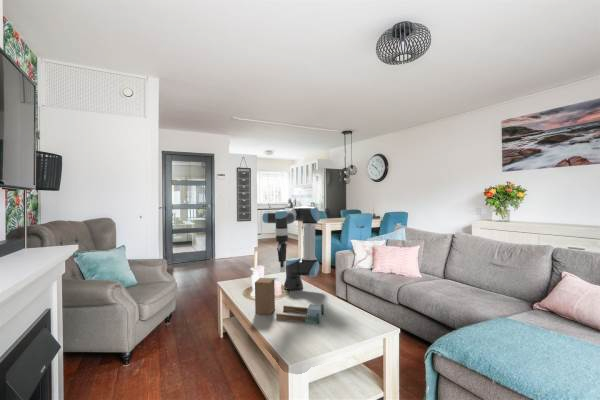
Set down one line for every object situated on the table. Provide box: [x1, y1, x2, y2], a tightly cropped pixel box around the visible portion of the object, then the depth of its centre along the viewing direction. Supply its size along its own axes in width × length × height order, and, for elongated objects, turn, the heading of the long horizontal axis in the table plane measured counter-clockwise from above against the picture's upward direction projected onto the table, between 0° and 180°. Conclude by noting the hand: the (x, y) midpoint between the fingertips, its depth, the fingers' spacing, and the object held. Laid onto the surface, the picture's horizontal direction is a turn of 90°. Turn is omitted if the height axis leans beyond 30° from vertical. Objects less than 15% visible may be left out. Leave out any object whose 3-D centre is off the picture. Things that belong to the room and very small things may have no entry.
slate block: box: [306, 303, 322, 322], centre depth 169 cm, size 7×7×7 cm
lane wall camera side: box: [275, 312, 320, 325], centre depth 166 cm, size 1×26×6 cm, turn 73°
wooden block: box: [254, 277, 276, 316], centre depth 180 cm, size 10×10×20 cm
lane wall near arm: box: [282, 303, 325, 316], centre depth 178 cm, size 1×26×6 cm, turn 73°
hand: (282, 271), depth 180 cm, fingers closed
